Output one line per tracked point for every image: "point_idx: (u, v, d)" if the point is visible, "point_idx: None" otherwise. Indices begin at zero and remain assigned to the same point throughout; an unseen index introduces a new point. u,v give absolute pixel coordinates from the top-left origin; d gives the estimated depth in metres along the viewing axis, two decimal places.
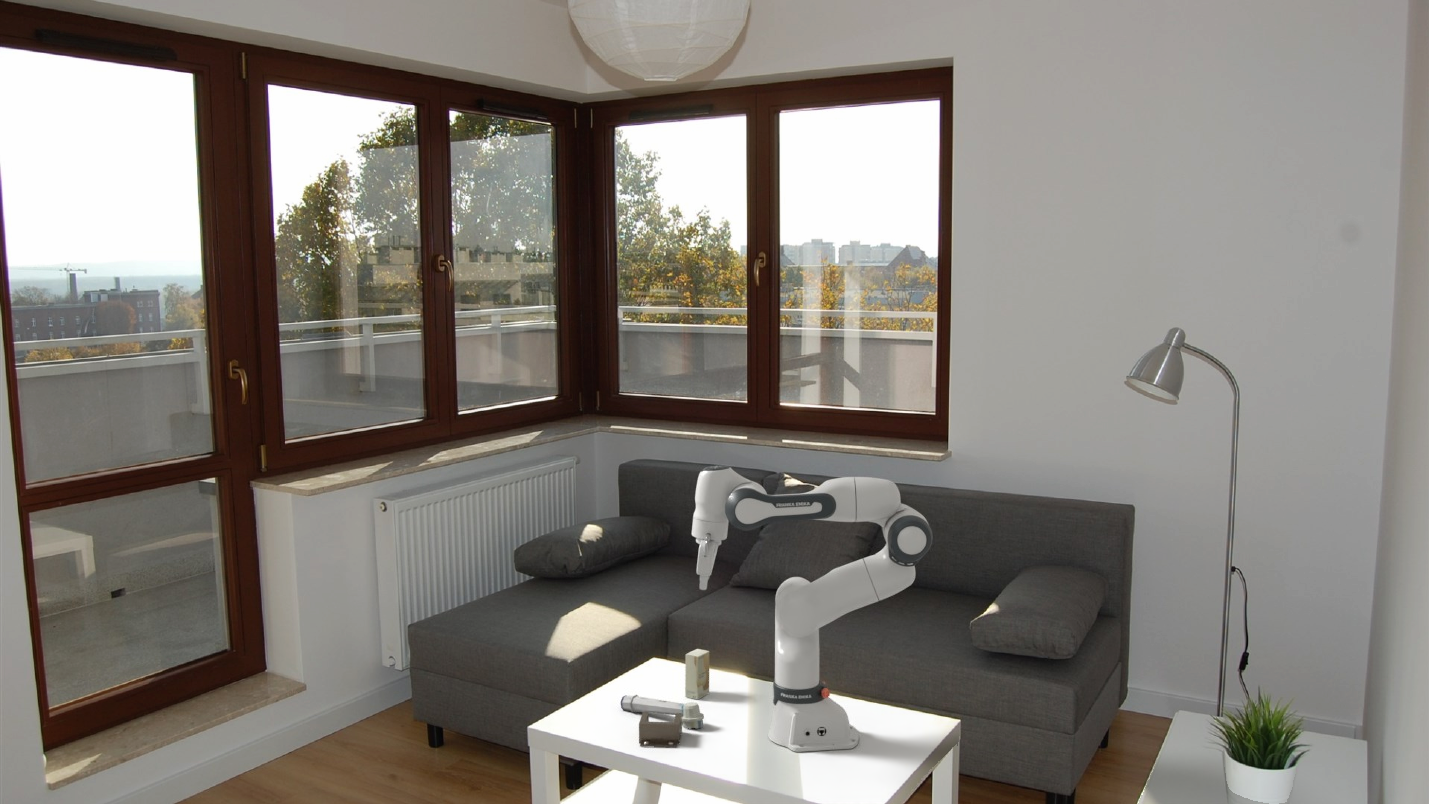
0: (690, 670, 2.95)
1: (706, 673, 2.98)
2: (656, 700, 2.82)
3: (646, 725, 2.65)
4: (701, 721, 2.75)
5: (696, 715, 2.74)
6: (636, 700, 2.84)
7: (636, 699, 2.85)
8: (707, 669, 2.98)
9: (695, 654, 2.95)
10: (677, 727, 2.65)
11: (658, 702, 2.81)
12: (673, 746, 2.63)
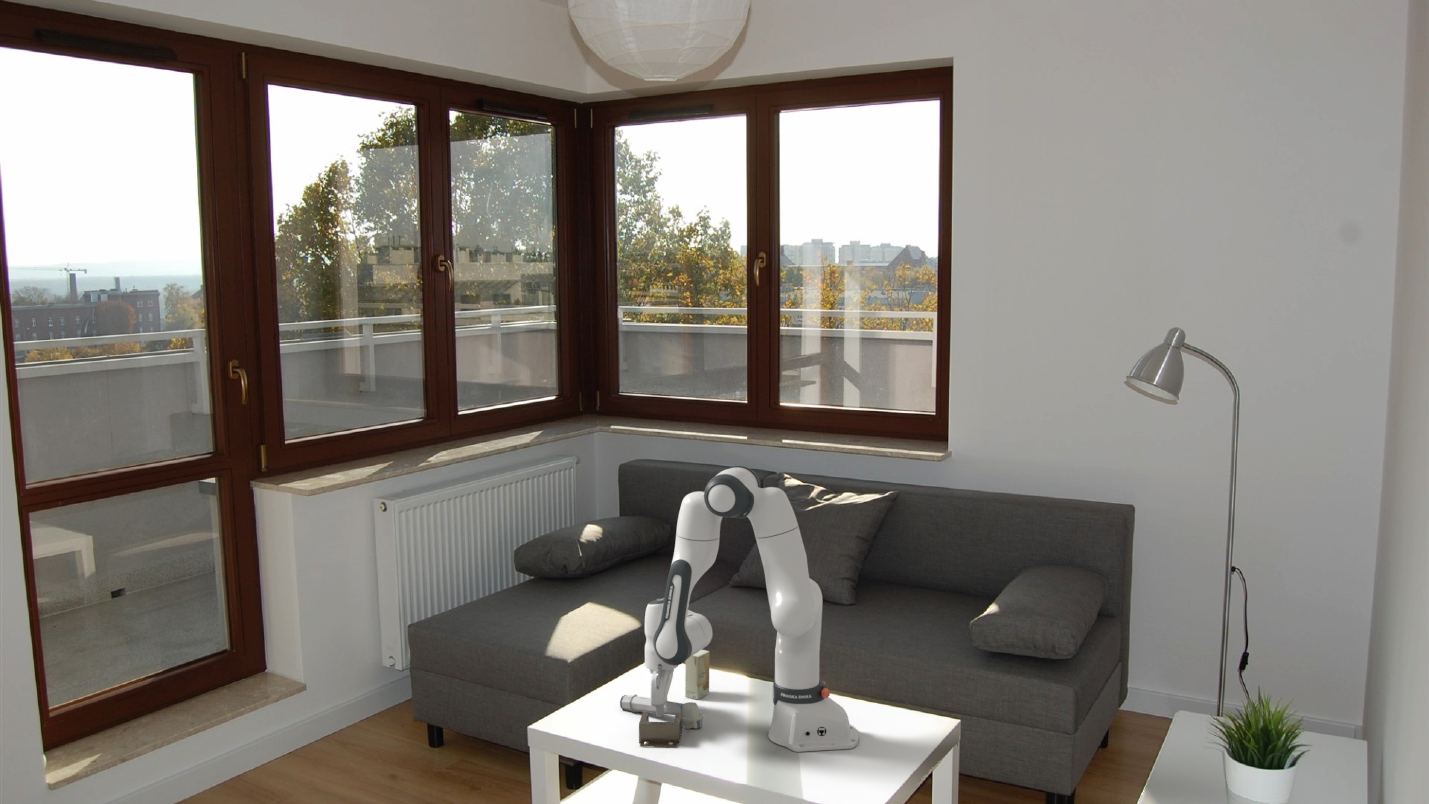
0: (690, 670, 2.95)
1: (706, 673, 2.98)
2: None
3: (646, 725, 2.65)
4: (700, 721, 2.75)
5: (695, 715, 2.74)
6: (635, 700, 2.85)
7: (635, 699, 2.85)
8: (707, 669, 2.98)
9: (695, 654, 2.95)
10: (677, 727, 2.65)
11: None
12: (673, 746, 2.63)
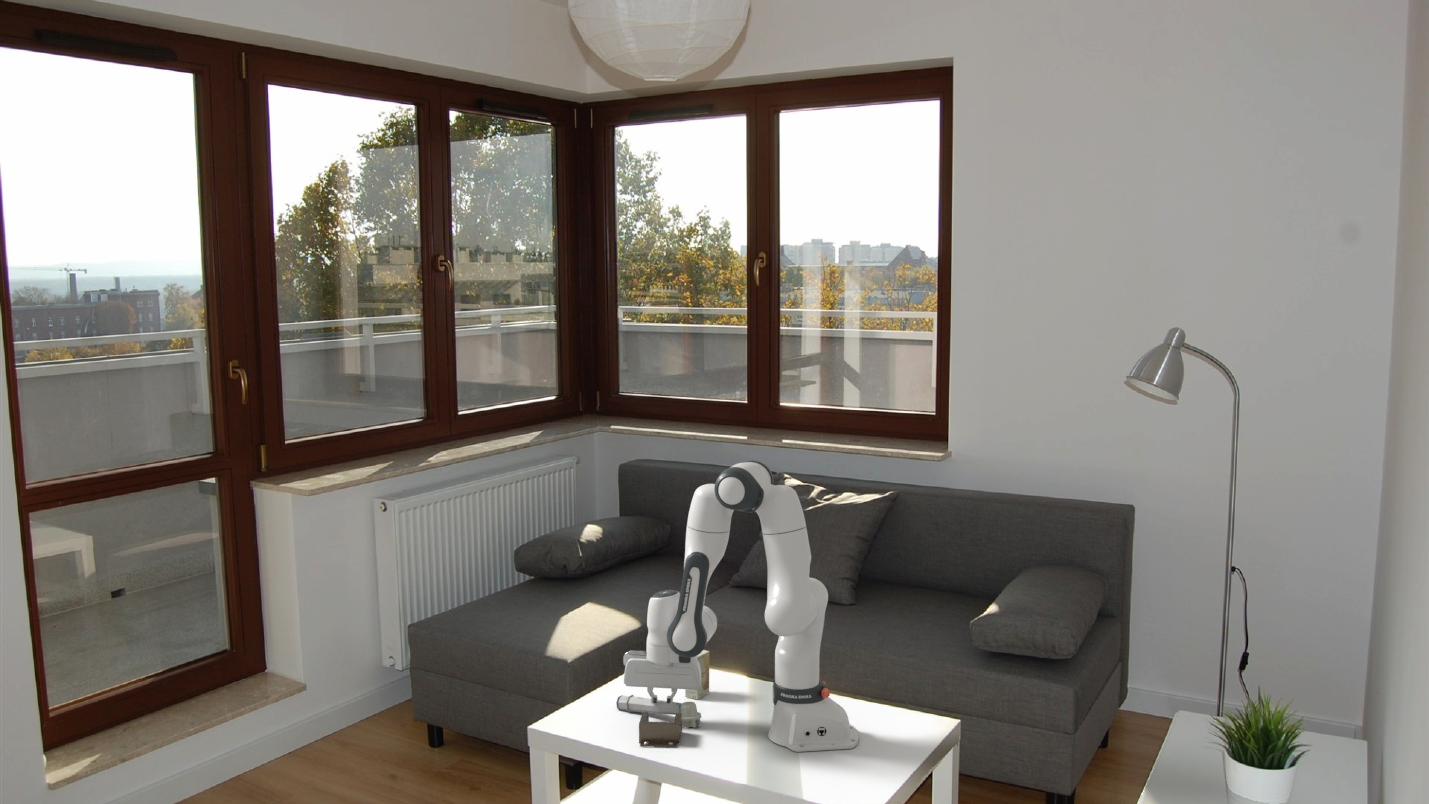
0: None
1: (706, 673, 2.98)
2: None
3: (646, 725, 2.65)
4: (698, 720, 2.76)
5: (694, 714, 2.75)
6: (632, 700, 2.85)
7: (632, 699, 2.85)
8: (707, 669, 2.98)
9: None
10: (677, 727, 2.65)
11: None
12: (673, 746, 2.63)
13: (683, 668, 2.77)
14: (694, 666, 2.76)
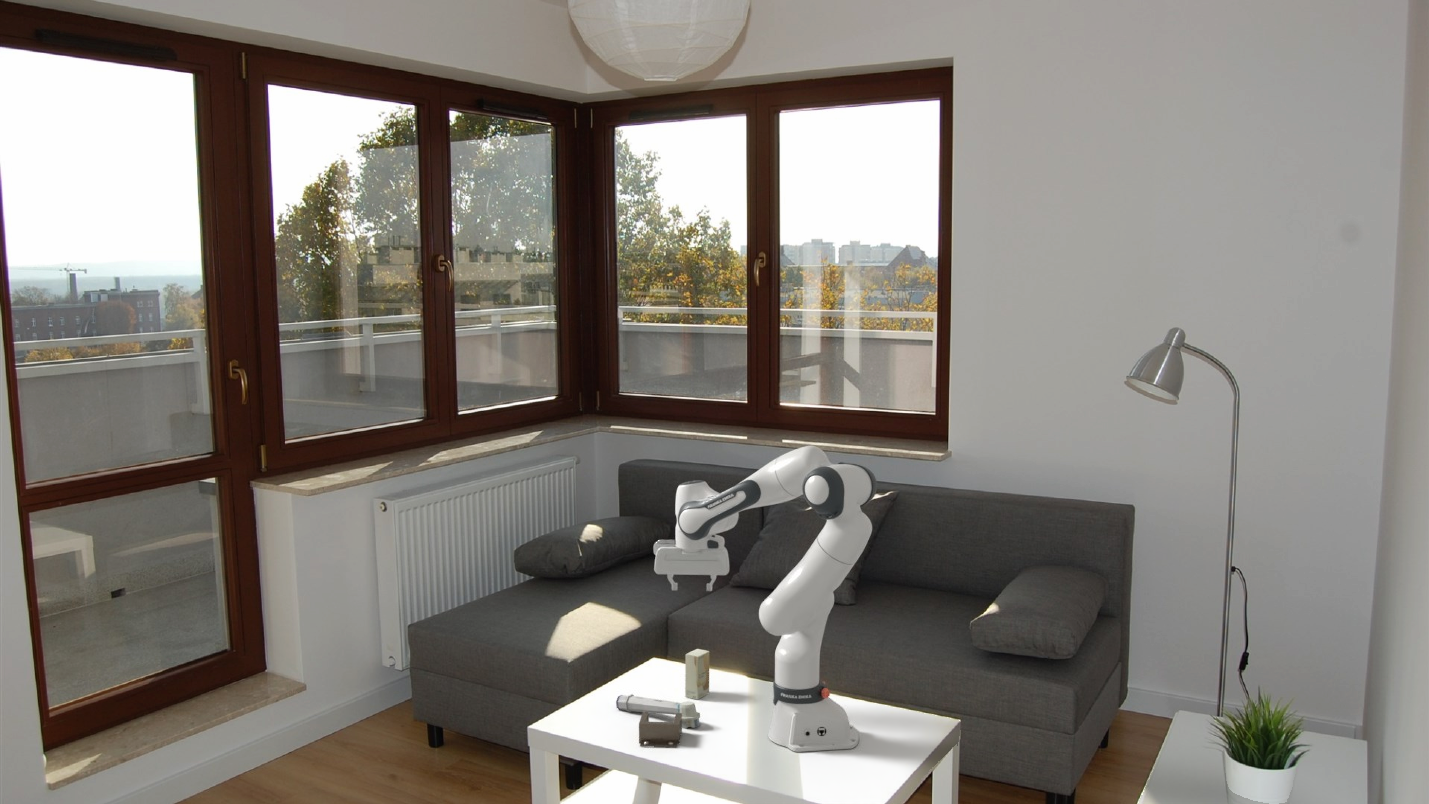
0: (690, 670, 2.95)
1: (706, 673, 2.98)
2: (652, 699, 2.83)
3: (646, 725, 2.65)
4: (697, 720, 2.75)
5: (693, 714, 2.75)
6: (632, 700, 2.85)
7: (632, 699, 2.85)
8: (707, 669, 2.98)
9: (695, 654, 2.95)
10: (677, 727, 2.65)
11: (654, 701, 2.81)
12: (673, 746, 2.63)
13: (712, 554, 2.87)
14: (722, 551, 2.86)
